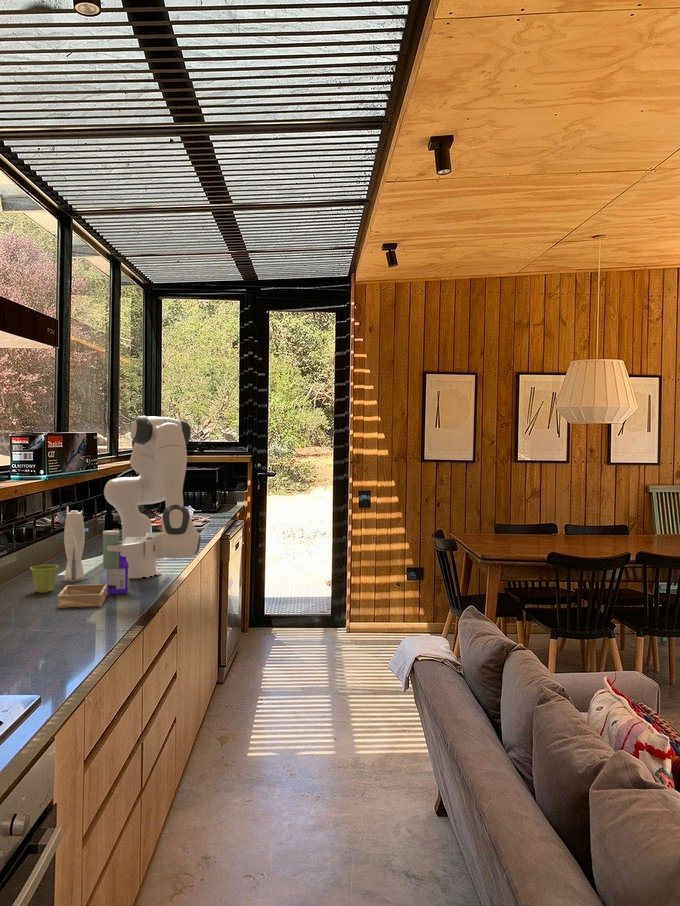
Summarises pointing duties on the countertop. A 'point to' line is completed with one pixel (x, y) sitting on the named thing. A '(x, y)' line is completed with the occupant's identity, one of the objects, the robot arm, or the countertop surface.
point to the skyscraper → (74, 545)
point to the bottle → (118, 577)
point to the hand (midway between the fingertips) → (108, 546)
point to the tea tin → (110, 556)
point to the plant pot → (44, 577)
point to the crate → (83, 596)
